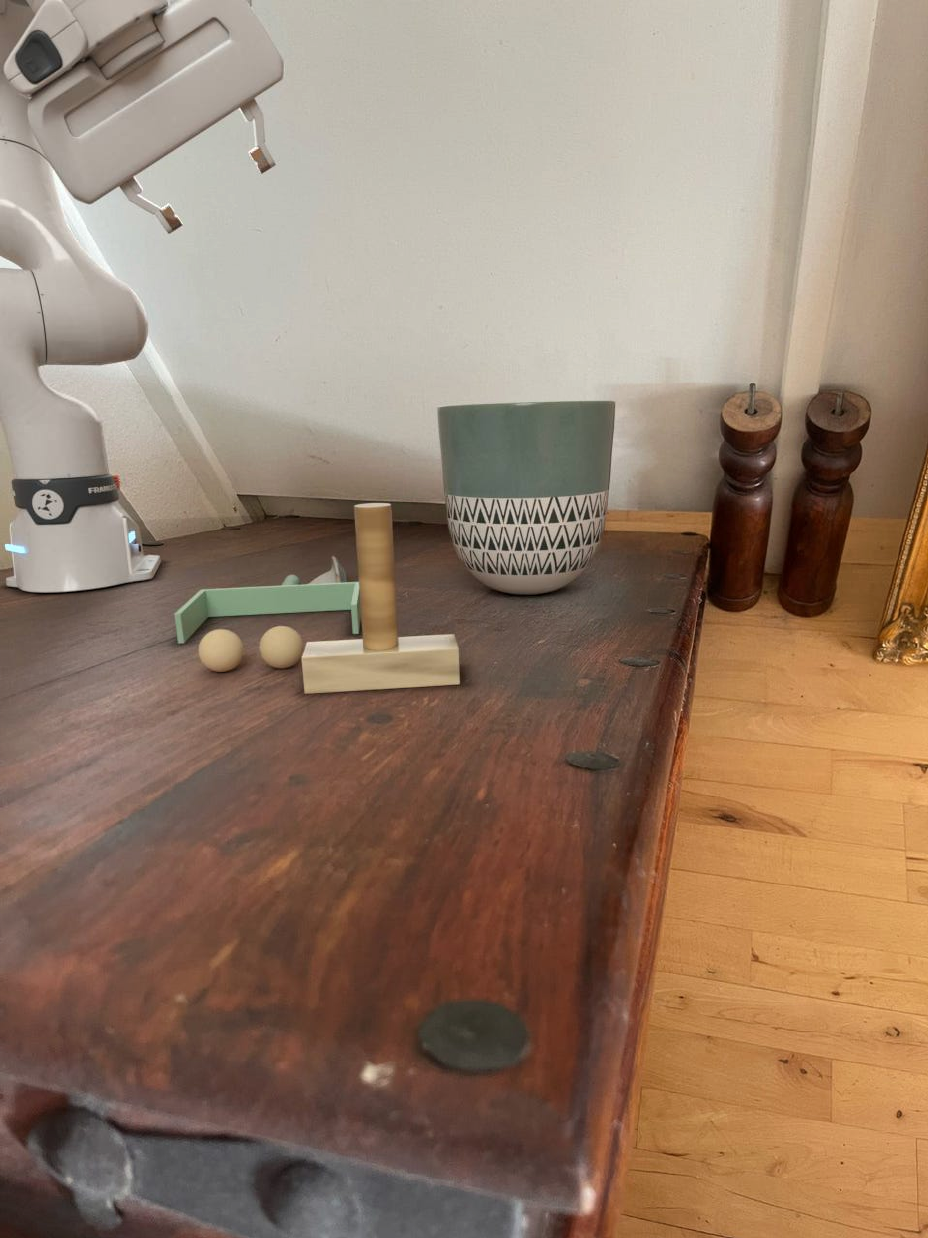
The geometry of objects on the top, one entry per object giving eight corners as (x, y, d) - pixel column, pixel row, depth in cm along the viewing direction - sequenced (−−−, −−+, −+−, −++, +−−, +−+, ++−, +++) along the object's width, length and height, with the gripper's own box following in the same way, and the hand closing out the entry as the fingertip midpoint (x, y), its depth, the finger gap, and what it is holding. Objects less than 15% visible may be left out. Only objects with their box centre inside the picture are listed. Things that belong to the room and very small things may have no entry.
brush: (309, 677, 61) (294, 505, 57) (455, 668, 62) (449, 499, 58) (304, 694, 57) (288, 511, 53) (460, 684, 58) (454, 504, 55)
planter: (609, 574, 97) (613, 402, 91) (612, 612, 78) (617, 399, 72) (459, 573, 100) (454, 407, 95) (427, 609, 81) (419, 405, 76)
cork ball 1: (206, 665, 65) (201, 625, 64) (248, 662, 65) (244, 623, 64) (196, 679, 61) (191, 637, 60) (241, 676, 62) (236, 634, 61)
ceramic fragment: (349, 600, 86) (347, 567, 85) (304, 603, 85) (301, 570, 84) (342, 578, 99) (340, 550, 99) (303, 581, 98) (301, 552, 98)
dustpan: (221, 597, 90) (218, 573, 89) (364, 590, 92) (362, 566, 91) (177, 644, 71) (173, 613, 70) (358, 634, 73) (356, 604, 72)
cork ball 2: (265, 661, 65) (261, 622, 64) (306, 659, 65) (303, 620, 65) (258, 675, 62) (254, 633, 61) (302, 672, 62) (298, 631, 61)
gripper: (220, -56, 58) (318, 133, 66) (0, 87, 58) (125, 258, 67) (224, -74, 53) (330, 132, 61) (-16, 83, 53) (122, 267, 62)
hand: (222, 199), depth 64 cm, fingers open, 8 cm apart
